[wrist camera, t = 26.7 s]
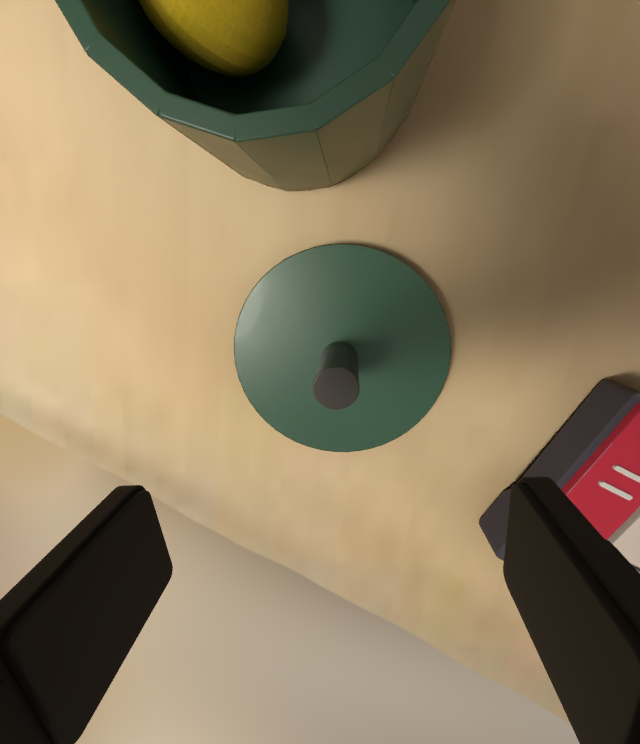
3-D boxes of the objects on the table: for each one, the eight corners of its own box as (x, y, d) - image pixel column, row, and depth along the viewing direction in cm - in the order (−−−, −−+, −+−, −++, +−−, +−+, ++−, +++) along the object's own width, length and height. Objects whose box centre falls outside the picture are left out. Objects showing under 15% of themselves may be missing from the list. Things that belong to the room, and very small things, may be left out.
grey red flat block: (793, 472, 21) (623, 624, 25) (719, 438, 25) (583, 574, 29) (649, 394, 20) (498, 565, 24) (596, 373, 24) (475, 523, 28)
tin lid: (256, 447, 28) (228, 503, 22) (221, 256, 23) (172, 257, 17) (443, 440, 26) (472, 499, 20) (449, 232, 21) (490, 223, 15)
